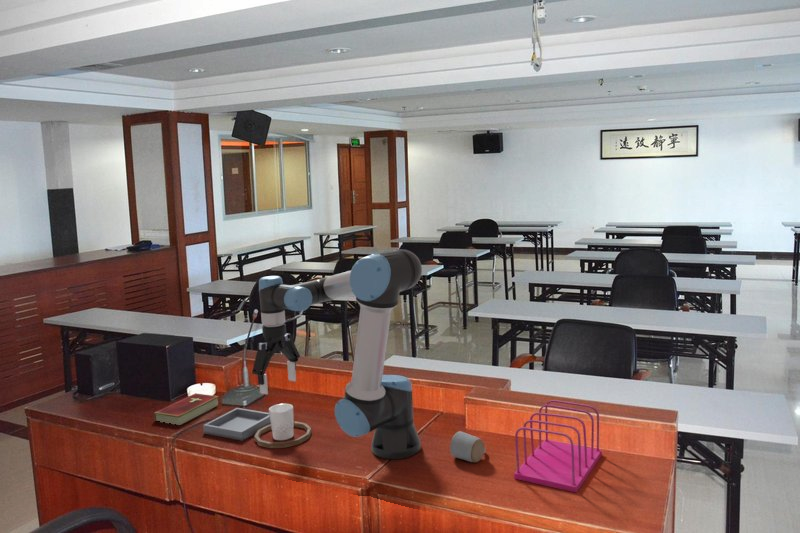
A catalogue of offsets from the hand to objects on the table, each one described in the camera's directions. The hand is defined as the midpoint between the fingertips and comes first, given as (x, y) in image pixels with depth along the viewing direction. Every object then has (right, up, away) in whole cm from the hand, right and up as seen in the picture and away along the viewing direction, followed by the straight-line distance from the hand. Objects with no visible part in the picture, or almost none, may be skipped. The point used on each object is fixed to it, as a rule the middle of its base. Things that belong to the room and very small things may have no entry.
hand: (278, 387), depth 216 cm
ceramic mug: (+61, -17, -20) cm, 66 cm away
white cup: (+1, -17, +2) cm, 17 cm away
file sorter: (+85, -18, -29) cm, 92 cm away
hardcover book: (-39, -16, +29) cm, 51 cm away
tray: (-16, -16, +12) cm, 25 cm away
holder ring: (+1, -17, +2) cm, 17 cm away
